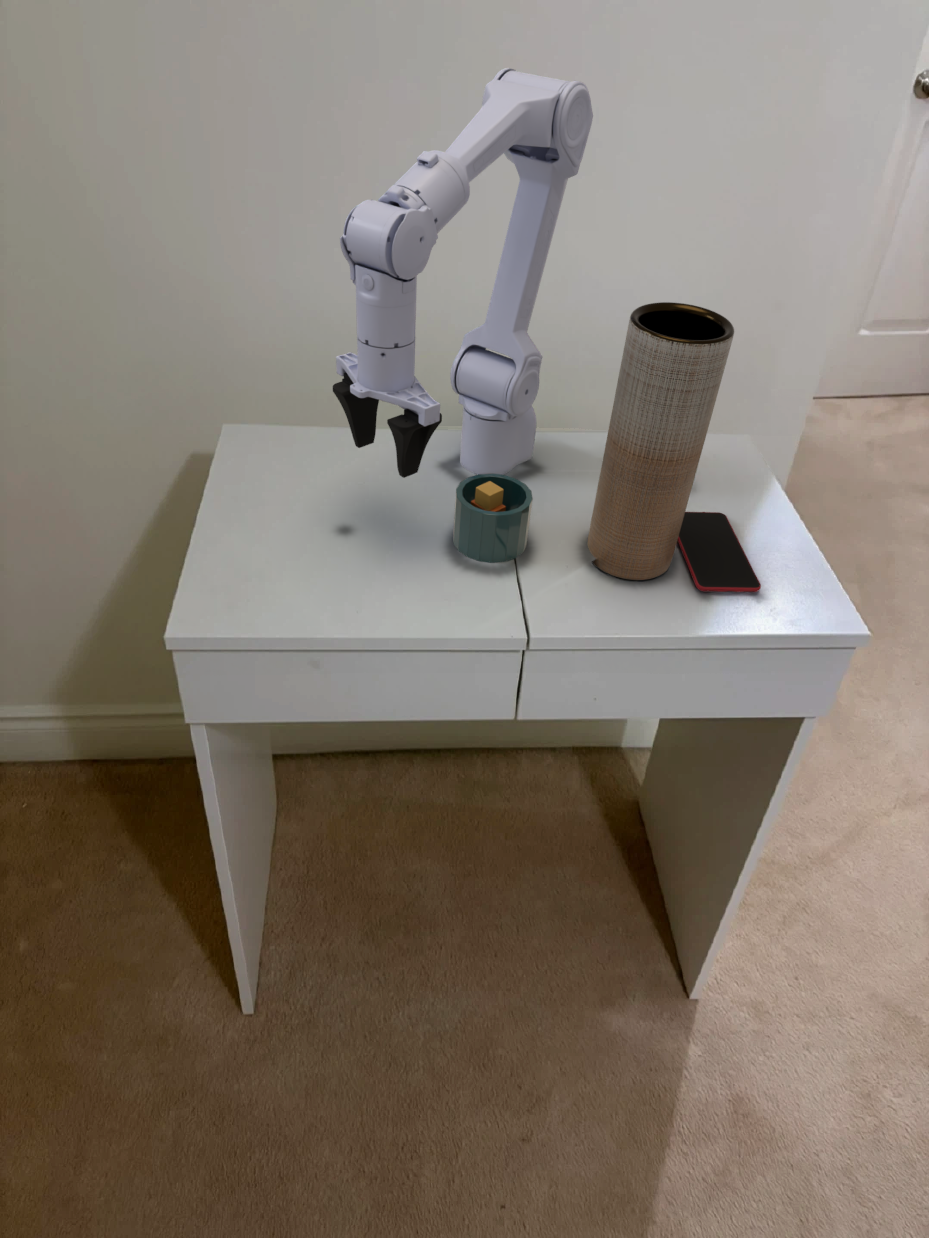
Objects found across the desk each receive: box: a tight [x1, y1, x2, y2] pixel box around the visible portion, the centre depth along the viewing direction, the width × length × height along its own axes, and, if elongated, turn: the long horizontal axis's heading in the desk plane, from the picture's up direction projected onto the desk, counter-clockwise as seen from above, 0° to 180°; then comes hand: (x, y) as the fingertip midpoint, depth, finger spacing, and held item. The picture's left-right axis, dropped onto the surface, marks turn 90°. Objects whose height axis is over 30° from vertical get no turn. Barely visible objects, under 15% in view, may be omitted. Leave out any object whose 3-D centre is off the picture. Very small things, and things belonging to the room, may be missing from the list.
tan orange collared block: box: [471, 481, 506, 512], centre depth 95 cm, size 8×3×2 cm
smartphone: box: [677, 511, 762, 593], centre depth 99 cm, size 7×1×15 cm
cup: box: [452, 473, 534, 564], centre depth 96 cm, size 8×8×8 cm
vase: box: [586, 301, 735, 581], centre depth 90 cm, size 10×10×28 cm
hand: (386, 458), depth 92 cm, fingers open, 7 cm apart
